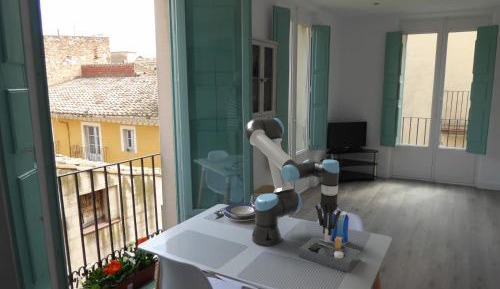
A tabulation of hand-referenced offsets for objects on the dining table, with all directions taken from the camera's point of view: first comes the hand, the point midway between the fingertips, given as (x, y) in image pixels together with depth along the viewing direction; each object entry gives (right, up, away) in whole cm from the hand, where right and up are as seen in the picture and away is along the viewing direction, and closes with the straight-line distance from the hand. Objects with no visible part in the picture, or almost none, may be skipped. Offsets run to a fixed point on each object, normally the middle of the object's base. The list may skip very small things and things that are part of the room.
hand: (327, 240), depth 168 cm
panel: (0, -7, -4) cm, 8 cm away
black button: (-7, -3, -3) cm, 8 cm away
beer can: (+9, -5, +13) cm, 17 cm away
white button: (+3, -6, -10) cm, 12 cm away
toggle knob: (+4, -2, -3) cm, 6 cm away
